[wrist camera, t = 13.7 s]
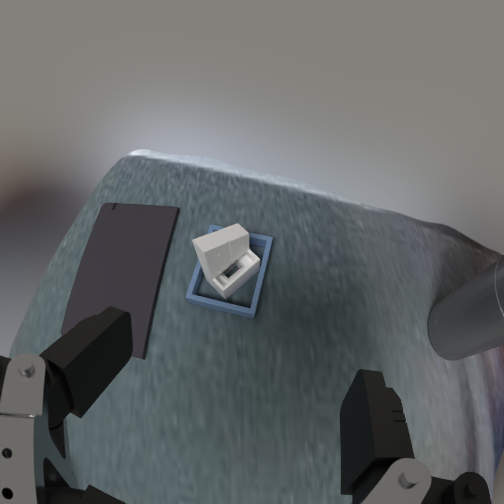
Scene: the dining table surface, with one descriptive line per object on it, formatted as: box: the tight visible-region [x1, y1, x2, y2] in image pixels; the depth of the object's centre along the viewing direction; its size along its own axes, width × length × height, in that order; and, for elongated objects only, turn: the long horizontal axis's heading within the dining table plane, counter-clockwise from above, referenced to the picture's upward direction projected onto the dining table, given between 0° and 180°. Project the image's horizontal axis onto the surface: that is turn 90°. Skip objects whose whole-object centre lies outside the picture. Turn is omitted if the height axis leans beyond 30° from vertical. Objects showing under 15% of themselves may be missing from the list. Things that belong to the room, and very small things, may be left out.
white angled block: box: [192, 223, 260, 300], centre depth 34 cm, size 4×10×9 cm, turn 134°
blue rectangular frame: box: [185, 225, 273, 319], centre depth 36 cm, size 8×10×2 cm
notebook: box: [61, 203, 179, 360], centre depth 37 cm, size 13×2×21 cm
